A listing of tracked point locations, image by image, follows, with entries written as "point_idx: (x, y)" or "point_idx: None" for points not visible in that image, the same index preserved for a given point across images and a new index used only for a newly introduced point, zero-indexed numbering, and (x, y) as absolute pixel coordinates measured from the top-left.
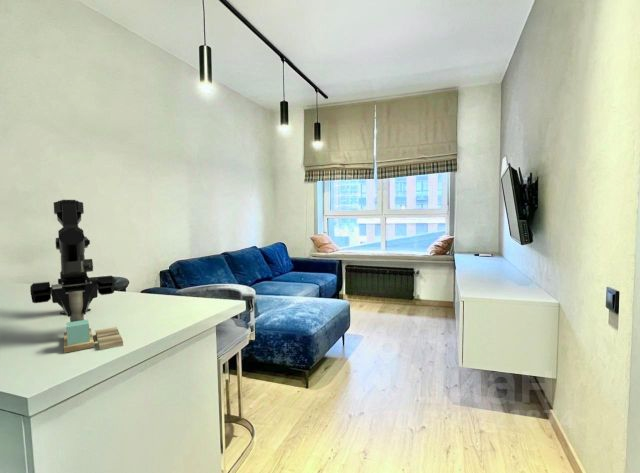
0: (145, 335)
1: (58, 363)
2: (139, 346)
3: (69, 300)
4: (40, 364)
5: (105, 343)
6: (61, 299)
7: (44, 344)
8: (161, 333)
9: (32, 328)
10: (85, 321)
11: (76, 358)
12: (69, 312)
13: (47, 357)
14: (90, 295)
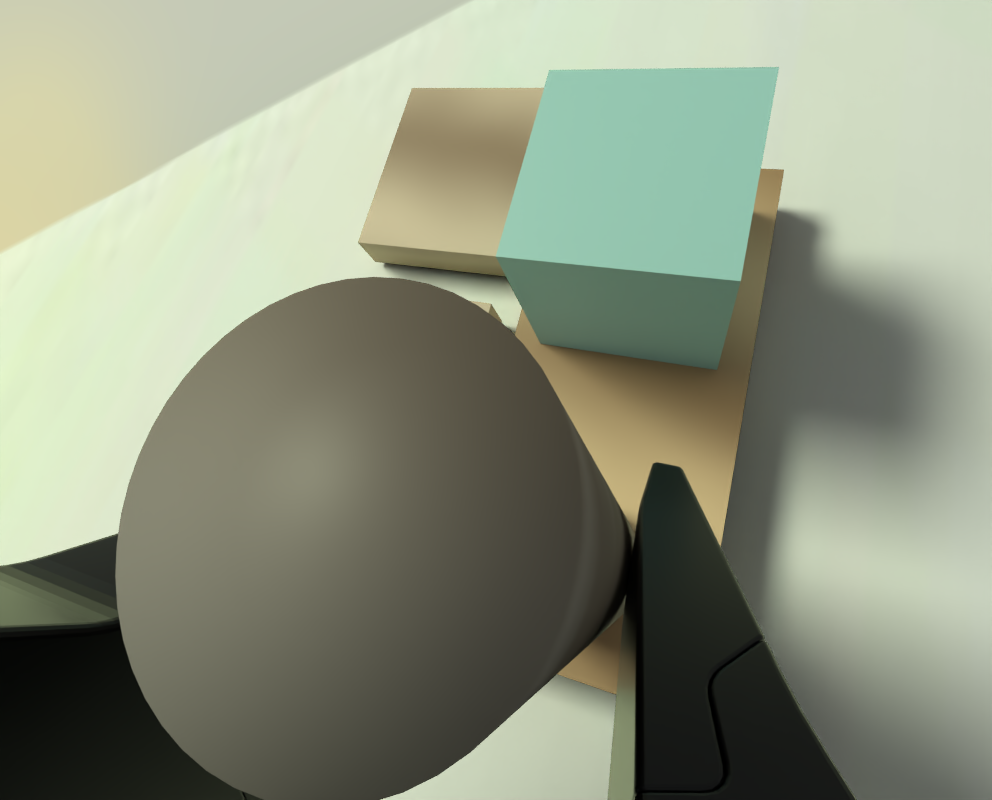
0: (248, 233)
1: (836, 52)
2: (373, 62)
3: (607, 513)
4: (959, 103)
5: (510, 99)
6: (820, 780)
7: (902, 665)
8: (182, 204)
9: None
10: (545, 180)
11: None
12: (652, 475)
13: (899, 224)
14: (99, 541)
